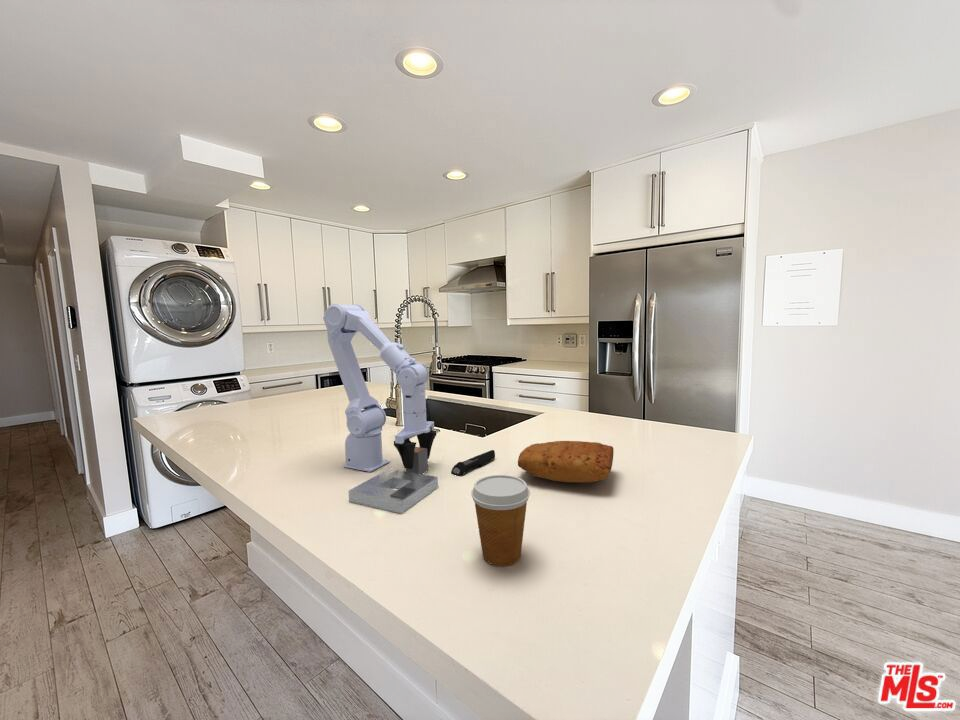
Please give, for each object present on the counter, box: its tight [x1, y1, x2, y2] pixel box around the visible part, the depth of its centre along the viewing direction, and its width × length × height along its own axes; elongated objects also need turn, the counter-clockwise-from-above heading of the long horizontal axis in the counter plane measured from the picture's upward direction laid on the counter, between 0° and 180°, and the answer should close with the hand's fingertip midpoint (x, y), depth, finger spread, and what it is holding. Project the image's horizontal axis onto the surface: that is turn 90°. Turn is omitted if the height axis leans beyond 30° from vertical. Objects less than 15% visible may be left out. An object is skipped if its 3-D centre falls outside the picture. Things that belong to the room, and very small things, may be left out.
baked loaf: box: [517, 440, 614, 483], centre depth 97 cm, size 22×17×8 cm
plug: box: [405, 446, 429, 474], centre depth 103 cm, size 4×4×6 cm
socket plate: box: [348, 467, 439, 515], centre depth 90 cm, size 14×14×3 cm
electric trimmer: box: [450, 449, 496, 477], centre depth 106 cm, size 4×16×3 cm, turn 140°
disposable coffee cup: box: [470, 474, 531, 567], centre depth 65 cm, size 10×10×12 cm
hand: (417, 463), depth 103 cm, fingers open, 7 cm apart
